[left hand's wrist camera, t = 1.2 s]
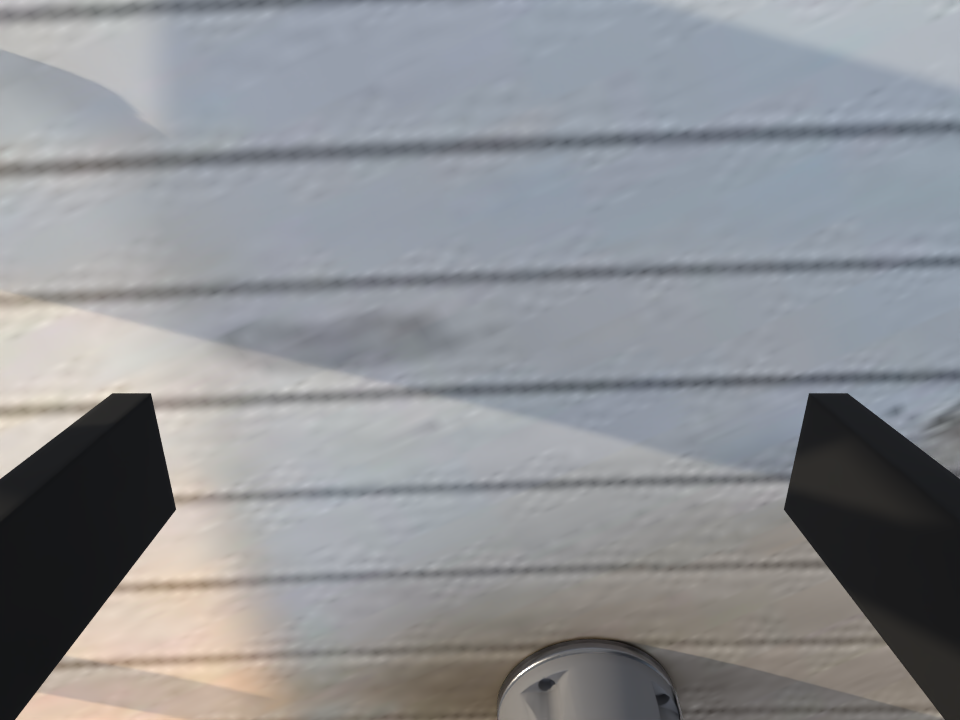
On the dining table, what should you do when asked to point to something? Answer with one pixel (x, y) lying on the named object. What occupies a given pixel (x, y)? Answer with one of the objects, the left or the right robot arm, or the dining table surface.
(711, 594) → the dining table surface
